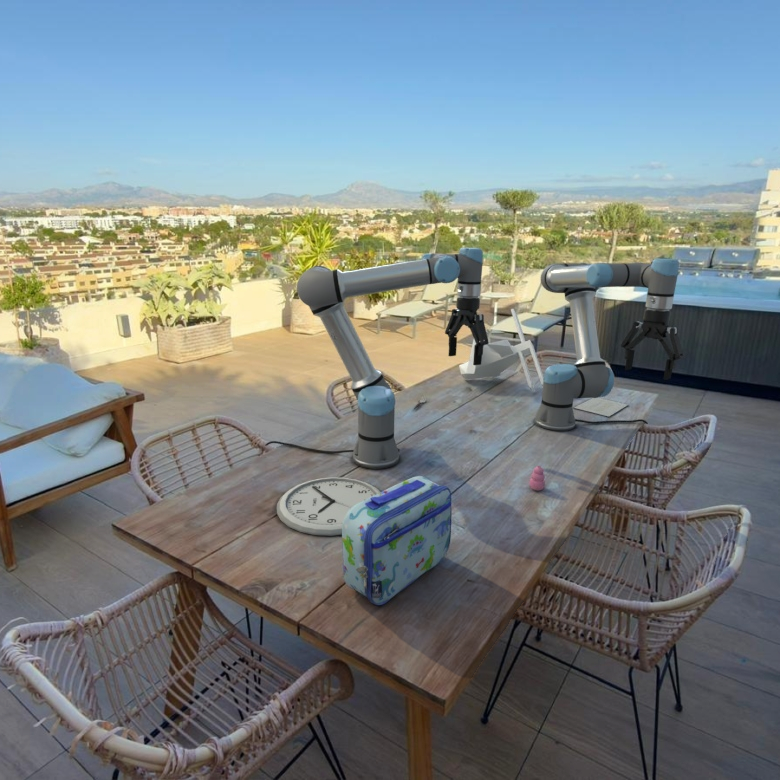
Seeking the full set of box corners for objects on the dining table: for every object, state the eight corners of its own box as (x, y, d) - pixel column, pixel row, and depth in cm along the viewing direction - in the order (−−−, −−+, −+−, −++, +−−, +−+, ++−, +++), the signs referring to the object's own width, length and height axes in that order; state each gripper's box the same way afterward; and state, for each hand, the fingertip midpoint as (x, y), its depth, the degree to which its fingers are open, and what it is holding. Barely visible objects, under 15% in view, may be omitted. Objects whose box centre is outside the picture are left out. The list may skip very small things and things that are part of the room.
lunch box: (371, 618, 102) (371, 524, 95) (336, 591, 109) (334, 502, 103) (455, 562, 119) (460, 479, 113) (420, 542, 126) (423, 463, 120)
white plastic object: (480, 422, 262) (459, 399, 237) (462, 348, 284) (440, 320, 259) (552, 397, 249) (538, 371, 225) (527, 322, 271) (511, 291, 247)
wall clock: (392, 527, 129) (268, 531, 127) (391, 533, 130) (269, 537, 127) (383, 473, 158) (282, 475, 155) (383, 478, 158) (282, 480, 156)
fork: (410, 410, 218) (411, 405, 217) (421, 399, 232) (422, 394, 231) (416, 411, 217) (417, 406, 216) (427, 399, 231) (427, 395, 230)
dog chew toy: (536, 483, 157) (538, 462, 155) (547, 490, 153) (550, 467, 151) (525, 487, 155) (527, 465, 152) (536, 493, 151) (539, 471, 149)
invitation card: (608, 416, 214) (573, 407, 224) (608, 416, 214) (573, 408, 224) (628, 404, 229) (594, 396, 238) (628, 405, 229) (594, 397, 238)
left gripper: (436, 292, 179) (434, 353, 185) (484, 302, 158) (479, 370, 165) (454, 292, 182) (451, 351, 189) (503, 301, 162) (497, 367, 168)
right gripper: (615, 304, 173) (606, 366, 179) (690, 315, 153) (677, 385, 159) (629, 303, 177) (620, 364, 183) (704, 314, 157) (691, 381, 163)
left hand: (464, 360), depth 177 cm, fingers open, 13 cm apart
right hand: (646, 374), depth 171 cm, fingers open, 13 cm apart
